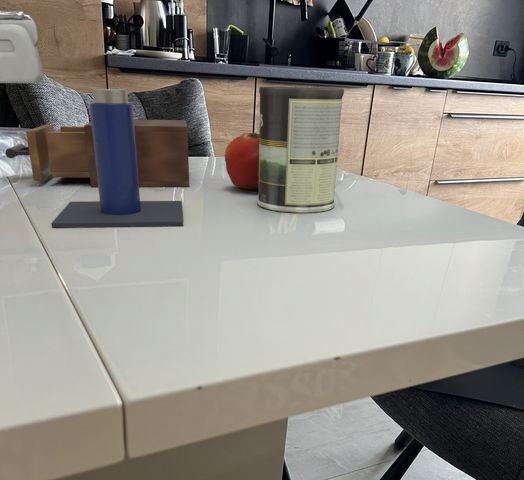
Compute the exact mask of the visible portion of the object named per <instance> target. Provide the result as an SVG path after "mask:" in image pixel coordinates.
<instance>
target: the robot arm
mask: <svg viewBox="0 0 524 480" xmlns="http://www.w3.org/2000/svg"><path fill="white" fill-rule="evenodd" d="M39 39H40V37H39V31H38V25H37V23H36V21H35V20H34V18H32V17H31V16H30V15H28V14H26V13H25V12H24V11H22V10H11V11H8V10H0V84H40V83H41V82H42V81H43V79H44V76H45V74H44V68H43V63H42V60H41V55H40V53H39V48H38V46H37V45H38V43H39Z"/></svg>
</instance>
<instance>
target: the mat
mask: <svg viewBox="0 0 524 480" xmlns="http://www.w3.org/2000/svg"><path fill="white" fill-rule="evenodd" d="M140 206H141V211H139V212H137V213H133V214H125V215H112V214H105V213H102V212H101V207H100V200H98V201H97V200H96V201H94V200H91V201H89V200H88V201H87V200H85V201H81V200H80V201H79V200H78V201H69V202H68V203H67V205H66V206H65V207H64V208H63V209H62V210H61V211H60V213H59V214H58V215H57V216H56V217H55V219H54V220H53V221H52V222H51V223H50V224H51V228H52V229H53V228H54V229H55V228H56V229H57V228H58V229H59V228H121V227H122V228H123V227H128V228H129V227H131V228H132V227H134V228H135V227H184V214H183V201H182V200H140Z"/></svg>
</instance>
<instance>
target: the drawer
mask: <svg viewBox="0 0 524 480" xmlns="http://www.w3.org/2000/svg"><path fill="white" fill-rule="evenodd" d="M25 134H26V141H27V146H26V145H25V144H23V143H19V144H16V145H14V146H12V147H9V148H7V149H5V151H4V152H5V153H4V154H5V156H6V157H7V158H8V159H14V158H16V157H18V156H29V159H30V166H31V172H32V178H33V181H43V180H44V179H45V178H47V177H49V176H50V175H51V178H90V173H89V164H88V155H87V146H86V137H85V129H84V126H69V125H67V126H63V125H62V126H59V131H55V128H54V124H44V125H40V126H38V127H34V128H31V129H28V130H26V131H25Z"/></svg>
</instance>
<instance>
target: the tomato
mask: <svg viewBox="0 0 524 480" xmlns="http://www.w3.org/2000/svg"><path fill="white" fill-rule="evenodd" d="M224 161H225V167H226V172H227V175H228V177H229V179H230V181H231V183H232V184H233V185H234V186H235V187H238V188H241V189H245V190H252V191H253V190H255V191H256V190H257V191H258V190H259V133H256V132H243V133H242V134H241V135H240V136H237V137H235V138H234V139H232V140H231V141H230V142H229V143H228V144H227V146H226V147H225V152H224Z"/></svg>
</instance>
